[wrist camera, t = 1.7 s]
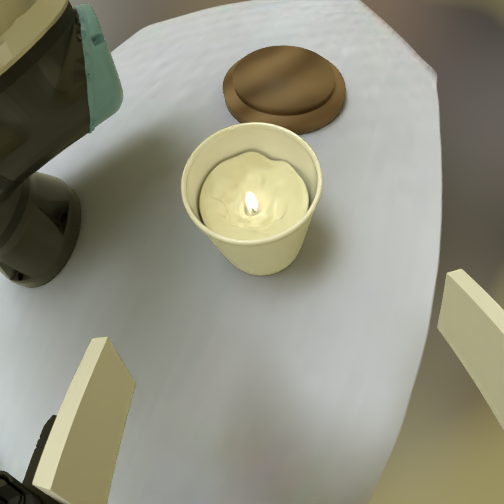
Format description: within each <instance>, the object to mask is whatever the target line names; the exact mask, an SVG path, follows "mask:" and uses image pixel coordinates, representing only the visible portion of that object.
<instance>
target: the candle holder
mask: <svg viewBox="0 0 504 504" xmlns="http://www.w3.org/2000/svg"><path fill="white" fill-rule="evenodd" d="M321 191H322V171H321V167H320V164H319V161H318V159H317V157H316V155H315V153H314V151H313V150H312V149H311V147H310V146H309V145H308V144H307V143H306V142H305V141H304V140H303V139H302V138H301V137H299V136H298V135H297V134H295V133H294V132H292V131H290V130H288V129H286V128H283V127H280V126H277V125H274V124H269V123H260V122H250V123H242V124H237V125H233V126H230V127H227V128H224V129H222V130H220V131H218V132H216V133H214V134H212V135H211V136H209V137H208V138H207V139H205V140H204V141H203V142H202V143H201V144H200V145H199V146H198V147H197V148H196V149H195V150H194V152H193V153H192V154H191V156H190V157H189V159H188V161H187V163H186V165H185V168H184V170H183V174H182V179H181V195H182V200H183V204H184V206H185V209H186V211H187V213H188V215H189V216H190V218H191V219H192V221H193V222H194V223H195V224H196V225H197V226H198V227H199V228H200V229H201V230H202V231H203V232H204V233H205V234H206V235H207V236H208V238H209V239H210V240H211V241H212V242H213V243H214V244H215V246H216V247H217V248H218V249H219V250H220V251H221V253H222V254H223V255H224V256H225V257H226V258H227V259H228V260H229V261H230V262H231V263H232V264H233V265H234V266H235V267H236V268H238V269H239V270H241V271H243V272H246V273H248V274H252V275H270V274H274V273H277V272H279V271H281V270H283V269H284V268H286V267H287V266H289V265H290V264H291V263H292V262H293V261H294V259H295V258H296V257H297V255H298V253H299V251H300V249H301V247H302V244H303V242H304V239H305V236H306V233H307V230H308V227H309V224H310V222H311V219H312V216H313V213H314V210H315V208H316V206H317V204H318V201H319V199H320V195H321Z"/></svg>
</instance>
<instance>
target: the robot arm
mask: <svg viewBox="0 0 504 504" xmlns="http://www.w3.org/2000/svg"><path fill="white" fill-rule="evenodd" d="M122 101H123V90H122V86H121V83H120V79H119V76H118V73H117V70H116V67H115V64H114V62H113V59H112V56H111V53H110V51H109V48H108V45H107V43H106V41H105V40H104V35H103V33H102V30H101V26H100V24H99V21H98V18H97V16H96V14H95V11H94V9H93V7H92V6H91V5H90V4H88V3H85V4H83V5H77V6H76V7H74V9H73V8H72V6H71V4H70V2H69V1H68V0H0V271H1V272H2V273H3V274H4V275H5V276H6V277H7V278H8V279H9V280H11V281H12V282H14V283H17V284H20V285H22V286H26V287H37V286H40V285H43V284H45V283H46V282H48V281H49V280H51V279H52V278H53V277H54V276H55V275H56V274H57V273H58V272H59V271H60V270H61V269H62V268H63V266H64V265H65V263H66V262H67V260H68V258H69V257H70V255H71V253H72V251H73V248H74V246H75V243H76V240H77V237H78V233H79V229H80V221H81V210H80V204H79V200H78V198H77V196H76V194H75V192H74V191H73V190H72V189H71V188H70V187H69V186H68V185H67V184H65V183H64V182H63V181H62V180H60V179H58V178H56V177H53V176H50V175H46V174H43V173H39V172H36V171H37V170H38V169H40V168H41V167H42V166H43V165H45V164H46V163H47V162H49V161H50V160H51V159H53V158H54V157H55V156H56V155H58V154H59V153H61V152H62V151H63V150H65V149H66V148H67V147H69V146H70V145H72V144H73V143H74V142H76V141H77V140H79V139H80V138H82V137H83V136H84V135H86V134H87V133H89V134H90V133H91V132H92V131H94V129H95V127H96V126H98V125H99V124H100V123H102V122H103V121H105V120H106V119H108V118H109V117H110V116H112V115H113V114H115V113H116V112H117V111H118V109H119V108H120V106H121V104H122ZM437 328H438V329H439V331H440V332H441V333H442V335H443V336H444V337H445V339H446V340H447V342H448V343H449V345H450V346H451V347H452V349H453V350H454V352H455V353H456V355H457V356H458V357H459V359H460V361H461V362H462V364H463V365H464V367H465V368H466V370H467V371H468V373H469V374H470V376H471V377H472V379H473V380H474V382H475V383H476V385H477V386H478V388H479V390H480V391H481V393H482V395H483V396H484V398H485V399H486V401H487V403H488V404H489V406H490V408H491V409H492V411H493V412H494V414H495V416H496V418H497V420H498V421H499V423H500V425H501V426H502V428H503V430H504V310H503V309H502V308H501V307H500V306H499V305H498V304H497V303H496V302H495V301H494V300H493V299H492V298H491V297H490V296H489V295H488V294H487V293H486V292H485V291H484V290H483V289H482V288H481V287H480V286H479V285H478V284H477V283H476V282H475V281H474V280H473V279H472V278H471V277H470V276H469V275H468V274H467V273H465V272H464V271H463V270H462V269H459V270H455V271H452V272H448V273H447V275H446V282H445V288H444V294H443V300H442V307H441V311H440V316H439V321H438V326H437ZM135 386H136V383H135V381H134V380H133V378H132V376H131V375H130V373H129V372H128V370H127V368H126V367H125V365H124V363H123V362H122V360H121V358H120V357H119V355H118V353H117V352H116V350H115V348H114V346H113V345H112V343H111V341H110V339H109V337H100V338H92V340H91V342H90V344H89V346H88V348H87V350H86V352H85V354H84V357H83V359H82V361H81V363H80V365H79V367H78V369H77V371H76V374H75V376H74V378H73V380H72V382H71V384H70V387H69V389H68V391H67V394H66V396H65V398H64V400H63V403H62V405H61V407H60V410H59V412H58V415H52V417H51V418H50V419H49V420H48V421H47V423H46V424H45V425H44V427H43V430H42V432H41V435H40V439H39V440H38V442H37V445H36V447H37V448H36V449H35V450H34V453H33V456H32V458H31V461H30V464H29V466H28V469H27V472H26V475H25V478H24V480H23V483H20V482H19V481H18V480H16V479H15V478H14V477H12V476H11V475H10V474H9V473H7V472H5V471H0V504H107V502H108V497H109V492H110V487H111V482H112V478H113V473H114V469H115V464H116V460H117V455H118V451H119V447H120V443H121V439H122V435H123V431H124V427H125V423H126V419H127V415H128V411H129V407H130V404H131V400H132V396H133V393H134V389H135Z"/></svg>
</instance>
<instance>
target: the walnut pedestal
mask: <svg viewBox="0 0 504 504" xmlns="http://www.w3.org/2000/svg"><path fill="white" fill-rule="evenodd" d="M223 93H224V97H225V101H226V105H227V108H228V110H229V111H230V113H231V114H232V115H233V117H234V118H235V119H237V120H238V121H239V122H240V123H250V122H260V123H269V124H274V125H277V126H280V127H283V128H286V129H288V130H290V131H292V132H294V133H295V134H297V135H300V134H305V133H309V132H312V131H315V130H318V129H320V128H322V127H324V126H326V125H327V124H329V123H330V122H331V121H332V120H334V119H335V118H336V116H337V115H338V114H339V112H340V110H341V108H342V105H343V101H344V95H345V82H344V79H343V77H342V75H341V73H340V72H339V70H338V69H337V68H336V67H335V66H334V65H333V64H332V63H330V62H329V61H328V60H326V59H325V58H323V57H322V56H320V55H318V54H317V53H315V52H313V51H310V50H307V49H304V48H300V47H295V46H271V47H266V48H262V49H259V50H256V51H254V52H252V53H250V54H248V55H247V56H245V57H244V58H242V59H241V60H239V61H238V62H237V63H235V64H234V65H233V66H232V67H231V68H230V69H229V71H228V72H227V74H226V76H225V78H224V81H223Z"/></svg>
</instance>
